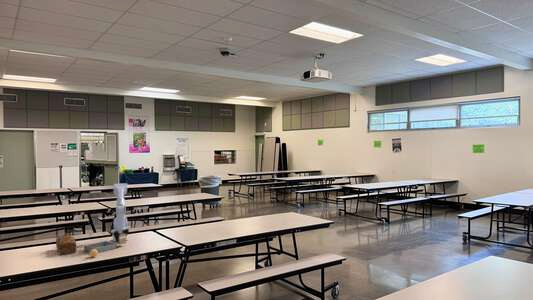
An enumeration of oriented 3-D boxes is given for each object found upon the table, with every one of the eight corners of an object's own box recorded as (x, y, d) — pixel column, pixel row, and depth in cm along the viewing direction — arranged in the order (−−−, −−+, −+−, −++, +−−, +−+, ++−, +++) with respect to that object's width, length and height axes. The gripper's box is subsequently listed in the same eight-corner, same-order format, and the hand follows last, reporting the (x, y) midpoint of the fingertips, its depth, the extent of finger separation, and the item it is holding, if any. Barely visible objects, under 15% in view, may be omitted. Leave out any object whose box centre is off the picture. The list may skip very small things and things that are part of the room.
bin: (84, 250, 242) (84, 245, 242) (106, 245, 255) (106, 240, 255) (94, 253, 233) (94, 248, 233) (116, 248, 247) (116, 243, 247)
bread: (55, 249, 244) (55, 235, 245) (72, 247, 251) (72, 233, 251) (58, 256, 230) (58, 241, 230) (76, 253, 236) (76, 238, 236)
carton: (115, 243, 252) (115, 233, 252) (122, 242, 256) (122, 232, 256) (119, 244, 249) (119, 234, 249) (126, 243, 253) (126, 233, 253)
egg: (87, 257, 226) (87, 249, 226) (95, 255, 230) (95, 247, 230) (91, 258, 223) (91, 250, 223) (99, 256, 227) (99, 249, 227)
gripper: (114, 224, 244) (114, 243, 244) (133, 221, 256) (133, 239, 256) (109, 223, 248) (109, 242, 248) (127, 220, 260) (127, 238, 260)
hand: (120, 240), depth 252 cm, fingers closed on carton, 5 cm apart
